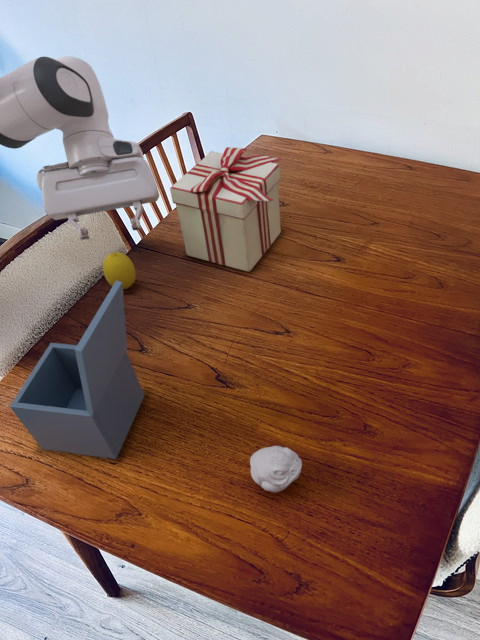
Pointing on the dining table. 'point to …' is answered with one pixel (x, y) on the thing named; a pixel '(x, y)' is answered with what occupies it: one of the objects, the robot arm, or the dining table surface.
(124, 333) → the chest lid
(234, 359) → the dining table surface
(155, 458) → the dining table surface
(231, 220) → the gift box
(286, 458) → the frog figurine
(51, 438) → the chest
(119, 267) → the lemon
